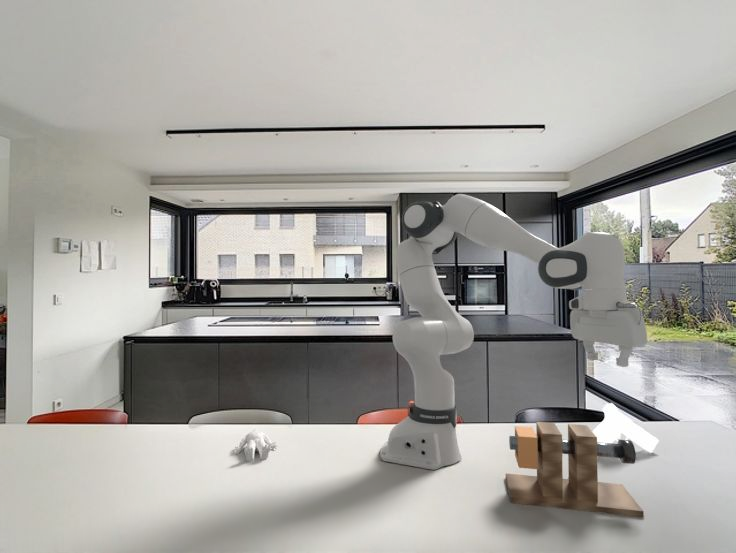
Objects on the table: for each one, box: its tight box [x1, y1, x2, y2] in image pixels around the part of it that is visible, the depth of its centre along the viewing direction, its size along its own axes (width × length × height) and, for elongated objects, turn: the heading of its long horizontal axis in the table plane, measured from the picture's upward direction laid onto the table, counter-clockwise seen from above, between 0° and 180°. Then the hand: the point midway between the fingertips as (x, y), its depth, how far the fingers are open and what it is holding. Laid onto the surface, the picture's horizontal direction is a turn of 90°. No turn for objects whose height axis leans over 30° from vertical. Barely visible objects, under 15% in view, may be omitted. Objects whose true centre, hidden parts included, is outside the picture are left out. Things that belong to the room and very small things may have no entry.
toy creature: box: [233, 429, 278, 463], centre depth 120 cm, size 12×6×12 cm
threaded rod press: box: [505, 421, 645, 518], centre depth 95 cm, size 26×12×15 cm, turn 77°
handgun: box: [591, 402, 660, 454], centre depth 120 cm, size 18×3×14 cm
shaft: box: [508, 435, 637, 465], centre depth 95 cm, size 26×5×5 cm, turn 77°
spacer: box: [514, 425, 538, 470], centre depth 97 cm, size 4×7×7 cm, turn 167°
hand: (606, 362), depth 95 cm, fingers open, 8 cm apart
